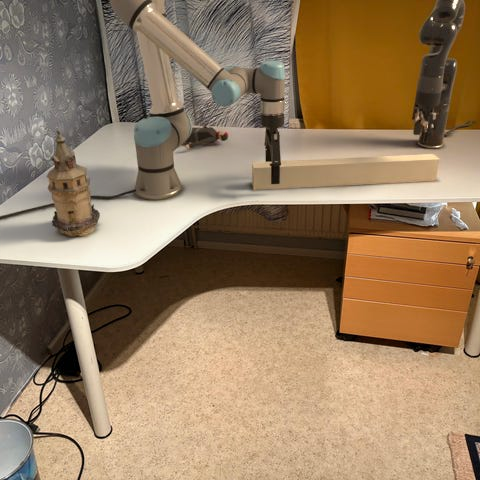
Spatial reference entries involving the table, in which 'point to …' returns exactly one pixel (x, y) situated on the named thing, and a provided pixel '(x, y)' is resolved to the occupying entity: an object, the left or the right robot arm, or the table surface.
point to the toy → (205, 136)
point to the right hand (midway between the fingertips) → (421, 138)
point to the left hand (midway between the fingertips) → (272, 175)
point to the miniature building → (70, 193)
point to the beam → (347, 171)
